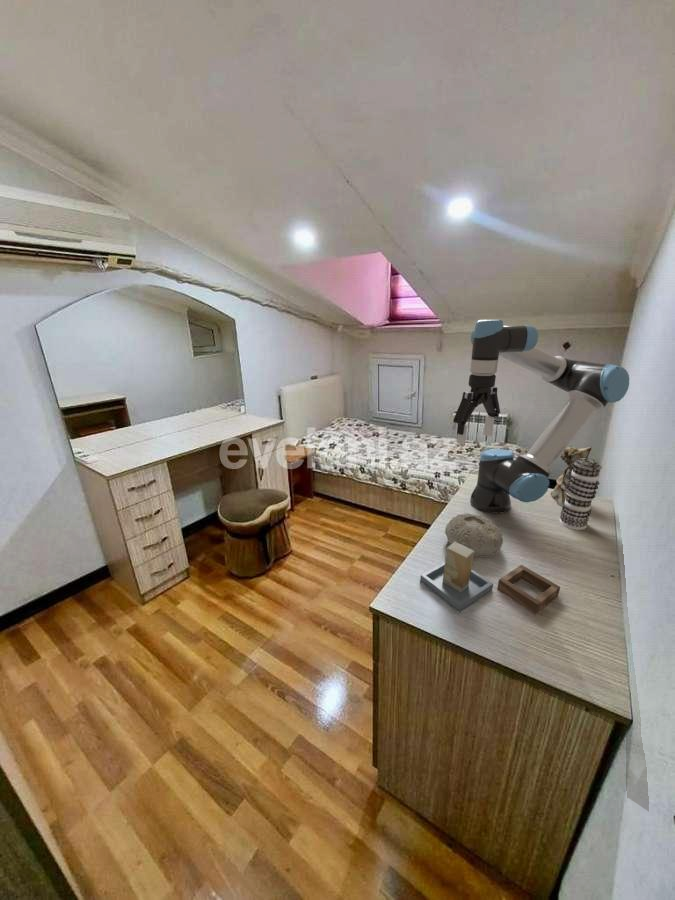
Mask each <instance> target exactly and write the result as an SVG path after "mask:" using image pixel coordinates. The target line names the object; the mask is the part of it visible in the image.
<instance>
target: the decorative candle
mask: <svg viewBox="0 0 675 900" xmlns="http://www.w3.org/2000/svg"><path fill="white" fill-rule="evenodd" d="M602 468H603V466H602V465H601V464H600V462H599V461H597V460H596V459H592V458H589V457H588V458H580V459H578V460H577V461H574V467H573V470H572V471H571V472H569V476H568V479H569V480H568V483H567V487H566V488H568V489H566V494H567V497H566V499H565V503H563V506H561V511H560V516H559V522H560V524H561V525H563V526H564V527H566V528H569V529H572V530H577V531H578V530H579V531H582V530H585V529H586V528H587V525H588V522H590V521H589V517H590V514H591V511H592V509H591V506H592V500H593V501H594V499H595V498H596V494H597V491H596V490H598V489H599V486H598V485H600V482H599V477H600V471H601V469H602ZM570 477H571V478H570Z"/></svg>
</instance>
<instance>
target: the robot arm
mask: <svg viewBox="0 0 675 900" xmlns="http://www.w3.org/2000/svg"><path fill="white" fill-rule="evenodd" d="M474 325H475V326H474V329H473V331H472V333H471V335H470V343H471V345H472V349H471V361H470V370H469V371H470V374H469V377H468V386H469V388H470V391H465V390H464V391H463V392H462V398H461V401H460V402H459V406H458V409H456V413H455V414H454V417H453V423H455V424H457V431H456V433H457V437H456V443H457V444H459V445H462V446H465V445H466V441H467V434H468V424H467V422H468V421H469V419H470V417H471V415H472V414H473V413H474V410H475V409H476V408H477V407H478V406H479V405H481V404H482V405H483V407H484V409H485V411H486V414H487V415H485V419H484V420H485V421H484V428H483V435H485V436H487V437H493V430H494V425H495V418H498V417H499V414H500V413H501V409H500V403H499V402H500V401H499V397H498V387H496V386H495V384H496V377H497V376H496V373H497V372H498V364H499V357H502V358H504V359H506V360H507V361H510V362H512V363H514V364H516V365H518V366H520V367H522V368H524V369H526V370H528V371H531V372H532V373H535V374H537V375H540V376H541V379H542V380H543V381H545V382H546V383H549V384H550V385H553V386H555V387H557V388H559V389H561V390H562V391H564V392H567V393H568V397H569V399H568V400H567V401H566V402H565V404H564V405H563V407H562V408H561V409H560V410H559V411H558V413H557V414H556V416H554V418H553V419H552V420H551V422H550V423H549V424H548V426H547V427H546V428H545V429H544V431H543V432H542V433H541V435H539V437H538V438H537V440H536V441H534V443H533V444H532V446H531V447H530V448H529V450H528V451H527V453H525V454H520V455H518V457H517V458H515V453H514V452H513V451H511V450H507V449H497V448H494V449H486V450H484V451H483V452H481V454H480V459H479V463H478V464H479V466H478V474H477V483H476V486H475V487H474V489H473V491H472V493H471V494H470V499H469V500H470V501H469V502H470V504H471V506H473V507H474V508H476V509H477V510H479V511H482V512H485V513H491V514H503V513H507V512H508V511H510V509H511V506H512V505H511V504H512V500H511V497H512V498H513V499H516V500H518V501H520V502H522V503H531V502H536V501H537V500H540V499H541V498H542V497H544V495H546V493H547V492H548V490H549V486H550V480H549V479H548V478H549V477H550V476H551V471H550V468H551V466H552V465H554V463H555V461H556V460H557V459H558V458H559V456H561V455H562V454H563V452H564V450H565V449H566V447H568V445H569V444H570V443H571V441H573V439H574V438H575V437H576V435H577V434H578V433H579V431H580V430H581V429H582V428H583V426H584V425H585V424H586V423H587V421H588V420H589V419H590V418H591V416H592V415H593V414H594V413H595V412H597V411H601V410H603V409H605V407H606V406H607V405H608V404H609V403H610V404H612V403H617V402H619V401H621V400H622V399H624V397H625V395H626V394H627V392H628V390H629V388H630V387H629V386H630V375H629V372H628V371H627V370H626V369H625V368H624V367H623V366H619V365H614V364H612V363H609V364H607V363H600V362H599V363H598V362H590V361H583V360H576V359H575V360H573V359H569V358H566V357H563V356H561V355H553V354H551V353H549V352H547V351H544V350H543V349H540V348H539V347H536V346H537V343H538V340H539V332H538V329H537V328H536V327H535V326H533V325H526V324H525V325H504V321H503V320H502V319H479V320H478V321H477V322H475V324H474ZM514 458H515V460H514Z"/></svg>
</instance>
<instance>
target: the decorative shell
mask: <svg viewBox="0 0 675 900" xmlns="http://www.w3.org/2000/svg"><path fill="white" fill-rule="evenodd" d="M445 526H446V527H445V529H444V533H445V535H446V538H447V541H448V543H449V544H450V545H451V544H452V543H453V542H457V543H459V544H461V545H463V546H466V547H467V548H469V549H471V550H473V551H475V552H474V556H475V557H481V558H486V557H490V556H493V555H496V554H497V553H498V552H500V550H501V548H502V545H503V543H504V538H503V533H502V532H501V531H500V529H499V528H498V527H497V525H496V524H495V523H494V522H493V521H491V520H490V519H487V518H486V517H484V516H482V515H478V514H472V513H469V512H468V513H461V514H457V515H456V516H453V517H452V518H451V519H450V520H449V522H448V523H447V524H446V525H445Z"/></svg>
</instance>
